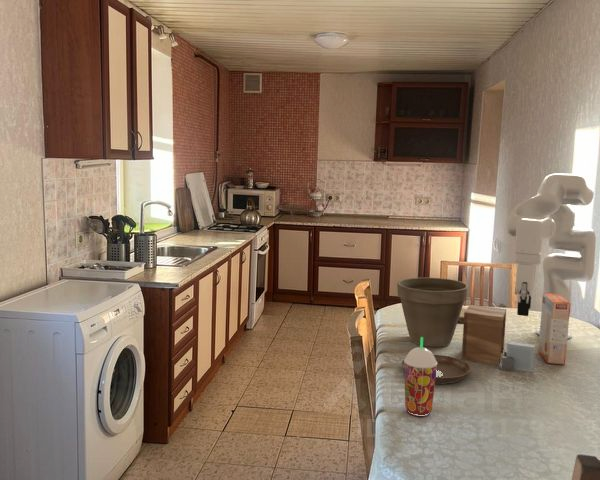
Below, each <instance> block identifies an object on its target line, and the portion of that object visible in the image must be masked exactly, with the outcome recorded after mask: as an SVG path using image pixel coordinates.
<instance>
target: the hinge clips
mask: <svg viewBox="0 0 600 480" xmlns="http://www.w3.org/2000/svg"><path fill="white" fill-rule="evenodd" d="M498 370H501V371H506V372H507V371H508V372H514V371H515V369H514V358H512V357H507V350H504V352H503V357H502V359H501V362H500V365H498Z"/></svg>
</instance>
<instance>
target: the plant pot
mask: <svg viewBox="0 0 600 480" xmlns="http://www.w3.org/2000/svg"><path fill="white" fill-rule="evenodd" d="M396 285H397V287H396V288H397V296H398V298H399V299H400V303H401V308H402V311H403V312H402V313H403V316H404V320H405V323H406V327H407V328H406V329H407V331H408V332H407V333H408V335H409V340H410V341H411V342H412V343H414V344H415V345H418V346H420V339H421V337H423V347H428V348H429V347H431V348H432V347H433V348H441V347H446V346H449V345H450V344H451V343H452V340H453V337H454V336H455V332H456V329H457V325H458V323H457V322H458V319H459V316H460V313H461V310H462V308H463V306H464V303H465V301H466V300H467V299H468V293H469V285H468V284H467V283H465V282H463V281H460V280H455V279H449V278H443V277H442V278H441V277H410V278H403V279H401V280H399V281H398V282H397V283H396Z"/></svg>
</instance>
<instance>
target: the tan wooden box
mask: <svg viewBox="0 0 600 480" xmlns="http://www.w3.org/2000/svg"><path fill="white" fill-rule="evenodd" d="M466 309H467V310H466V311H465V312H464V324H463V325H462V326H463V328H462V331H463V332H462V345H461V360H462V361H464V360H465V361H470V362H476V363H481V364H489V365H495V366H499V365H500V362H501V359H502V357H503V356H504V351H505V335H506V322H507V321H506V320H507V309H506V308H501V307H491V306H483V305H473V304H470V305H468V306H467V308H466Z"/></svg>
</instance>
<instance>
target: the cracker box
mask: <svg viewBox="0 0 600 480" xmlns="http://www.w3.org/2000/svg"><path fill="white" fill-rule="evenodd" d="M541 300H542V301H541V315H540V324H539V326H540V327H539V328H540V335H539V337H538V338H539V339H538V348H537V351H538V352H539V354H540V355H541V356H542V358H543V359H544V360H545V362H546V364H552V365H565V364H566V359H567V357H566V355H567V344H568V339H567V337H568V331H569V326H570V325H569V324H570V314H571V313H570V312H571V302H570V303H569V302H568V301H567V300H566V299H564V298H563V297H562V296H561V295H559V294H546V293H542V299H541Z"/></svg>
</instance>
